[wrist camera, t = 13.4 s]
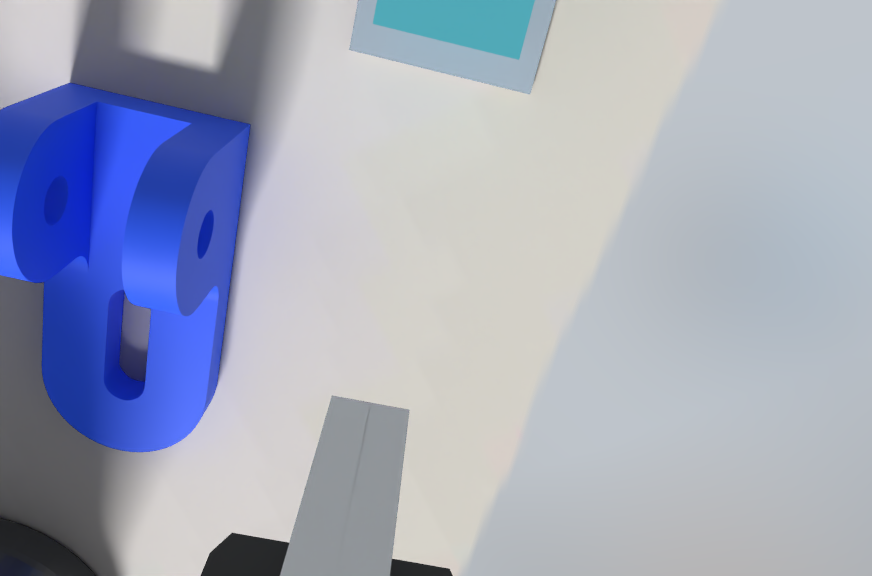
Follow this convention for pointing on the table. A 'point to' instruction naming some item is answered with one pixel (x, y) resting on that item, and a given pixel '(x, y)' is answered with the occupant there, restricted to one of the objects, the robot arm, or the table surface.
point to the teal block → (461, 22)
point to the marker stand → (455, 50)
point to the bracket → (123, 251)
